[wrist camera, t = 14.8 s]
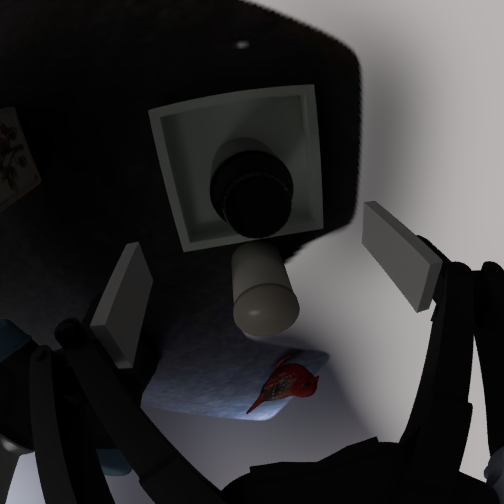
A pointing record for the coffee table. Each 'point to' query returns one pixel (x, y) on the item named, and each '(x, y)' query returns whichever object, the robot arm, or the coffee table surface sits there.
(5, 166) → the decorative jar
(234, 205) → the supplement bottle
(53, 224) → the coffee table surface
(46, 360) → the robot arm
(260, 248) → the cream canister
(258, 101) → the sage tray
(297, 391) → the decorative bird figurine
